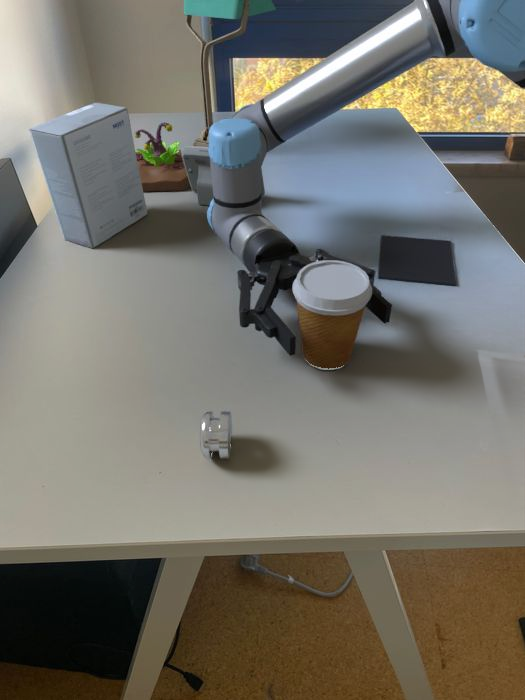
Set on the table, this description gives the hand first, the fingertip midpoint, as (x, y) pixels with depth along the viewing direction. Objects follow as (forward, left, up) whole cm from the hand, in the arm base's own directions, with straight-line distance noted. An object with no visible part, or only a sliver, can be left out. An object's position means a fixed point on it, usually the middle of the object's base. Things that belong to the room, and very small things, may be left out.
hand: (342, 330), depth 62 cm
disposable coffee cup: (+2, -2, -7) cm, 7 cm away
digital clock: (+28, -47, -7) cm, 55 cm away
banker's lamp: (+35, -78, -7) cm, 86 cm away
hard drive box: (+47, -31, -7) cm, 57 cm away
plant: (+45, -57, -7) cm, 73 cm away
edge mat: (-10, -29, -6) cm, 32 cm away
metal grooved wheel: (+12, +16, -7) cm, 21 cm away
